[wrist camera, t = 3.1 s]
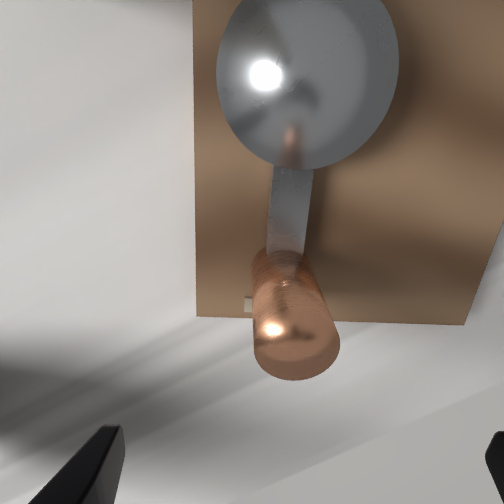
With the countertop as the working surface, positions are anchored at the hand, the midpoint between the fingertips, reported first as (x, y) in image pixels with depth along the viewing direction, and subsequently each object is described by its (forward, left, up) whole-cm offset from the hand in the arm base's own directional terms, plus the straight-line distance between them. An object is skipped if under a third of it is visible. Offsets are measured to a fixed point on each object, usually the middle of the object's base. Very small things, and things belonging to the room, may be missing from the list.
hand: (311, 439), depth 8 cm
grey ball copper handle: (+5, 0, -9) cm, 10 cm away
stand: (+8, -3, -10) cm, 13 cm away
